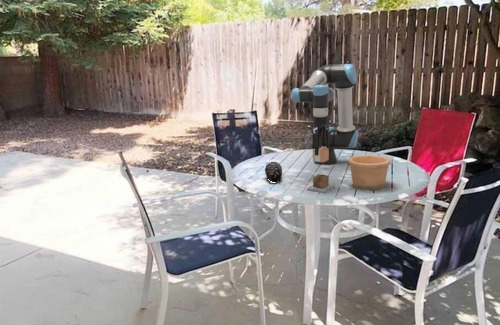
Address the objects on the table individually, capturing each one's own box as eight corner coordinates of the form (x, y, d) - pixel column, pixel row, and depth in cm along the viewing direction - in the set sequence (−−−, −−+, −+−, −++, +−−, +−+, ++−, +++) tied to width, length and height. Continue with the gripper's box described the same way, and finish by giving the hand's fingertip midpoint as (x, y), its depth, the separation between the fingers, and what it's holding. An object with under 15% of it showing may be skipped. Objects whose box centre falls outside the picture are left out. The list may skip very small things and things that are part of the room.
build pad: (306, 189, 217) (306, 187, 217) (316, 184, 225) (316, 182, 225) (325, 193, 210) (325, 191, 210) (335, 187, 218) (335, 185, 218)
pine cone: (268, 184, 229) (268, 167, 227) (263, 176, 246) (263, 160, 244) (286, 183, 230) (286, 166, 228) (280, 175, 248) (280, 159, 245)
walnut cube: (313, 187, 217) (312, 176, 215) (318, 184, 221) (318, 173, 220) (323, 189, 213) (323, 178, 212) (328, 186, 218) (328, 175, 216)
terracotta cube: (312, 161, 213) (312, 149, 212) (318, 158, 218) (318, 147, 217) (323, 162, 210) (323, 150, 208) (328, 159, 214) (328, 148, 213)
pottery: (365, 194, 206) (366, 166, 203) (339, 183, 226) (339, 158, 222) (398, 187, 214) (400, 160, 211) (371, 177, 234) (371, 153, 230)
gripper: (317, 118, 199) (318, 164, 204) (336, 114, 213) (335, 157, 219) (304, 117, 204) (305, 163, 209) (323, 113, 218) (323, 155, 223)
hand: (320, 159), depth 214 cm, fingers closed on terracotta cube, 6 cm apart
